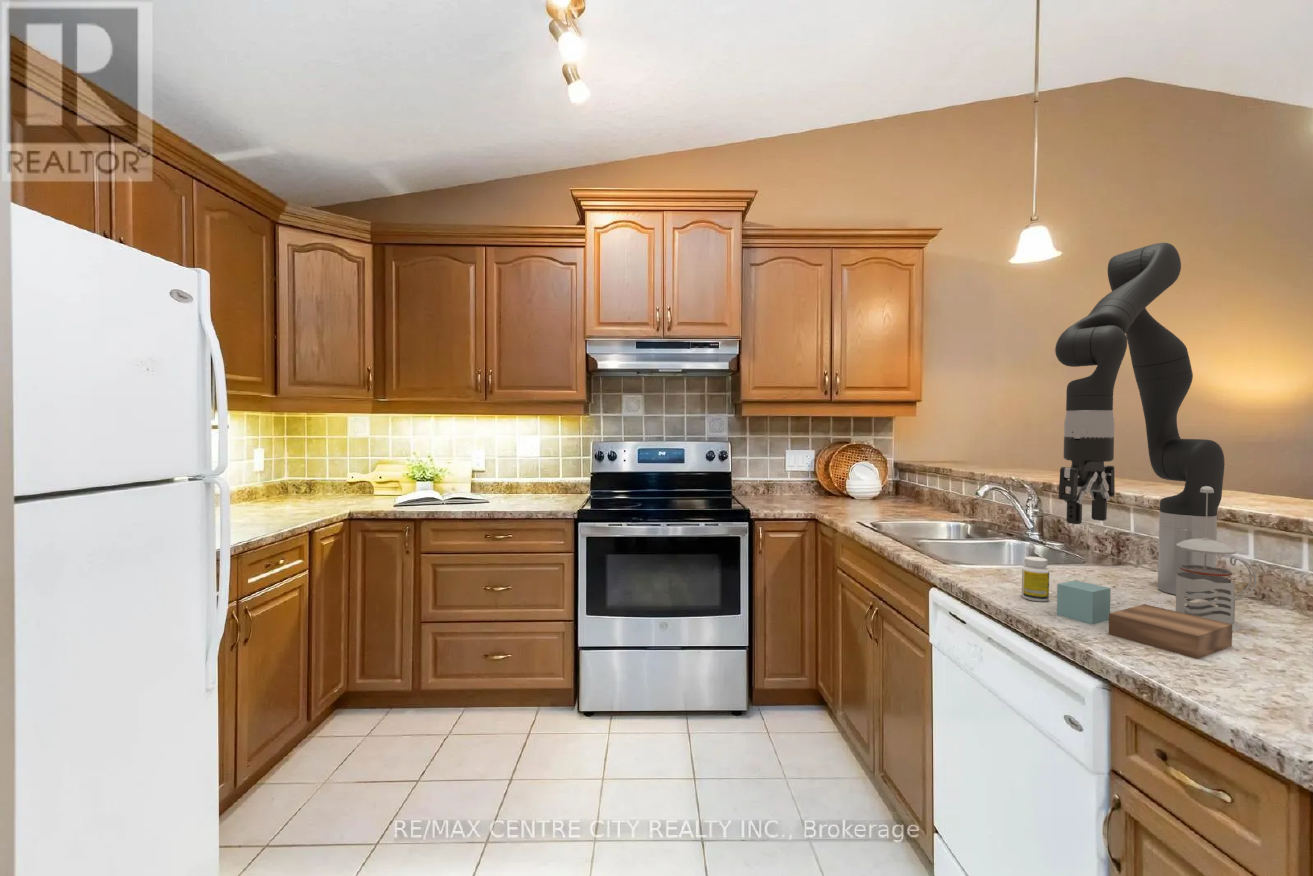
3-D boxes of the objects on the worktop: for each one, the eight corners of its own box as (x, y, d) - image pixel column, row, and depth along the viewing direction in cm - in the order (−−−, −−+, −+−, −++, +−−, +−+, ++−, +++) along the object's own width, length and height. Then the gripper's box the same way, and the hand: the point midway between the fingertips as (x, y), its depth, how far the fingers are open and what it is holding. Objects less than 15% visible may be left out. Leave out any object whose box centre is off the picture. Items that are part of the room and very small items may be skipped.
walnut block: (1143, 625, 106) (1144, 604, 106) (1231, 648, 96) (1232, 624, 95) (1108, 636, 101) (1109, 613, 101) (1197, 661, 90) (1198, 636, 90)
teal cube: (1074, 610, 114) (1075, 580, 114) (1109, 620, 108) (1110, 588, 108) (1056, 615, 111) (1057, 583, 111) (1092, 625, 106) (1092, 592, 105)
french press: (1160, 610, 114) (1163, 482, 114) (1240, 619, 109) (1243, 485, 108) (1178, 625, 105) (1182, 487, 105) (1266, 636, 100) (1270, 490, 100)
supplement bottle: (1053, 603, 118) (1053, 561, 118) (1027, 601, 119) (1028, 560, 119) (1042, 596, 123) (1043, 556, 123) (1017, 594, 124) (1018, 555, 124)
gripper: (1086, 434, 115) (1085, 516, 116) (1045, 435, 109) (1043, 521, 109) (1131, 435, 109) (1129, 522, 109) (1090, 435, 102) (1088, 528, 102)
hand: (1086, 521), depth 109 cm, fingers open, 8 cm apart
